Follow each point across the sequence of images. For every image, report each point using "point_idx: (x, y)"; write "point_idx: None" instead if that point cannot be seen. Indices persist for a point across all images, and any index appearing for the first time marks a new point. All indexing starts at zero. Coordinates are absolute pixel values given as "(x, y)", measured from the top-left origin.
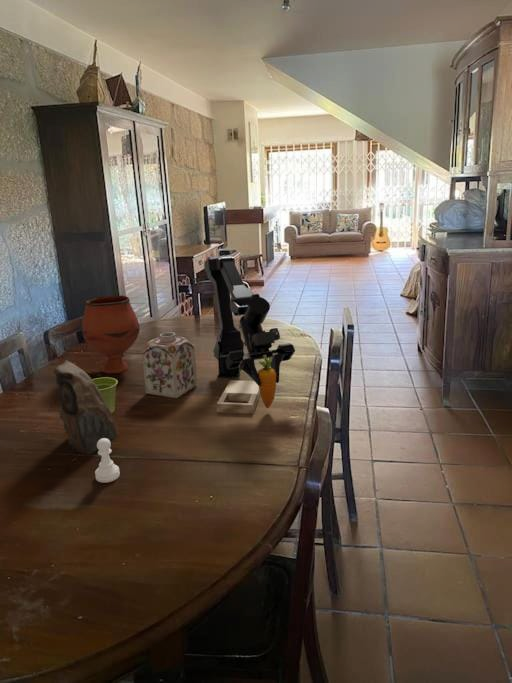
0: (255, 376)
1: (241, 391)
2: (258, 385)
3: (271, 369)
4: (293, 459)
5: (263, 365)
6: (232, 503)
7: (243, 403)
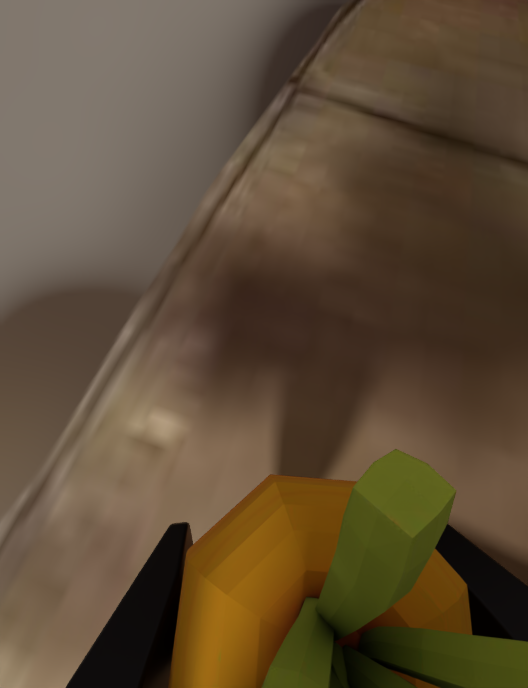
0: (511, 575)
1: None
2: None
3: (251, 606)
4: (298, 117)
5: (468, 638)
6: (498, 16)
7: None
